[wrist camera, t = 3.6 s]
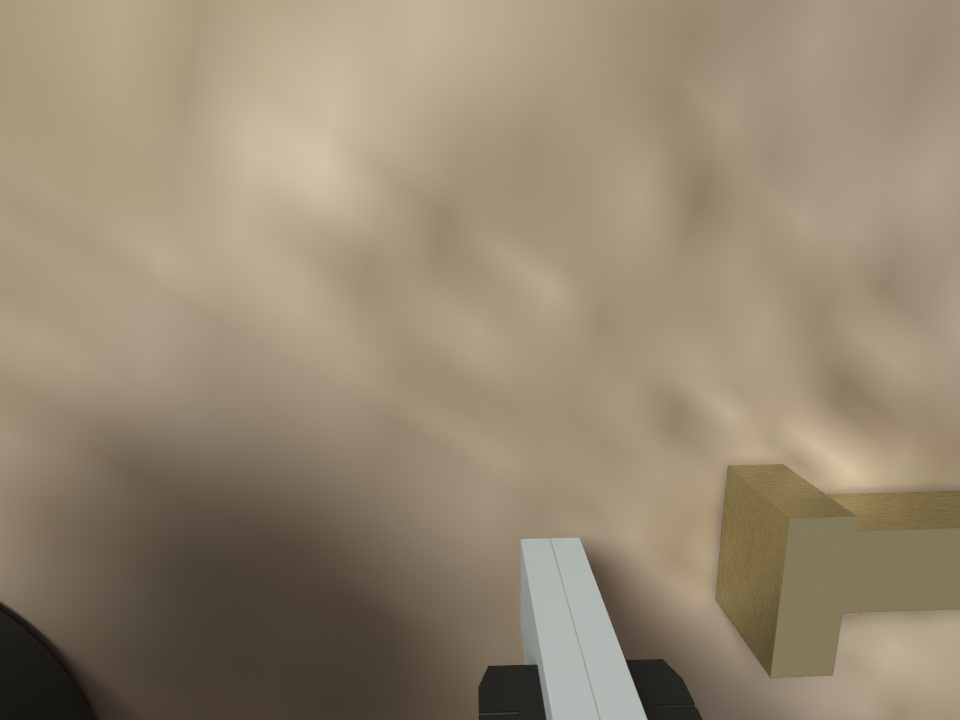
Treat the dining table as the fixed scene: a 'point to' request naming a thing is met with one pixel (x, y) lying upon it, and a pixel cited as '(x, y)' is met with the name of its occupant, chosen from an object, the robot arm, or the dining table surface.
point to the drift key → (827, 562)
